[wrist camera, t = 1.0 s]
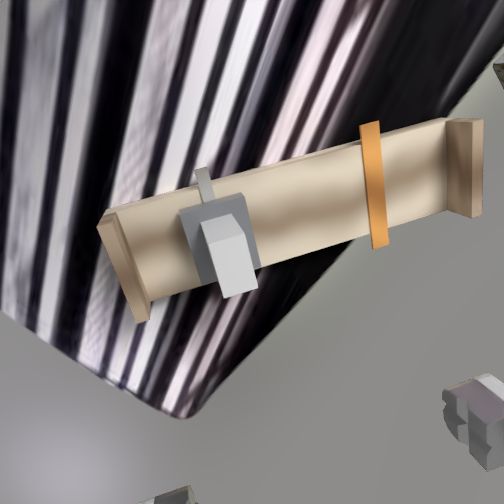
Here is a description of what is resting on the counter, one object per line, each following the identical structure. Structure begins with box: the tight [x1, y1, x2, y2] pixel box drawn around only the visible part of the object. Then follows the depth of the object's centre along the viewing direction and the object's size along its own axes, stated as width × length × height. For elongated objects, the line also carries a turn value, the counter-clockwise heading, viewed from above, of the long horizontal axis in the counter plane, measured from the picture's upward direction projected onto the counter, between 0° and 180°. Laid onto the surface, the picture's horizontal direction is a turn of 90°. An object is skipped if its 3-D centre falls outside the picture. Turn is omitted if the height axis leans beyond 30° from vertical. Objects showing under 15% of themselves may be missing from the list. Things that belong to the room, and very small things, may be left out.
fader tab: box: [179, 192, 261, 298], centre depth 27 cm, size 6×5×6 cm
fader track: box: [97, 118, 484, 324], centre depth 31 cm, size 11×30×5 cm, turn 103°
